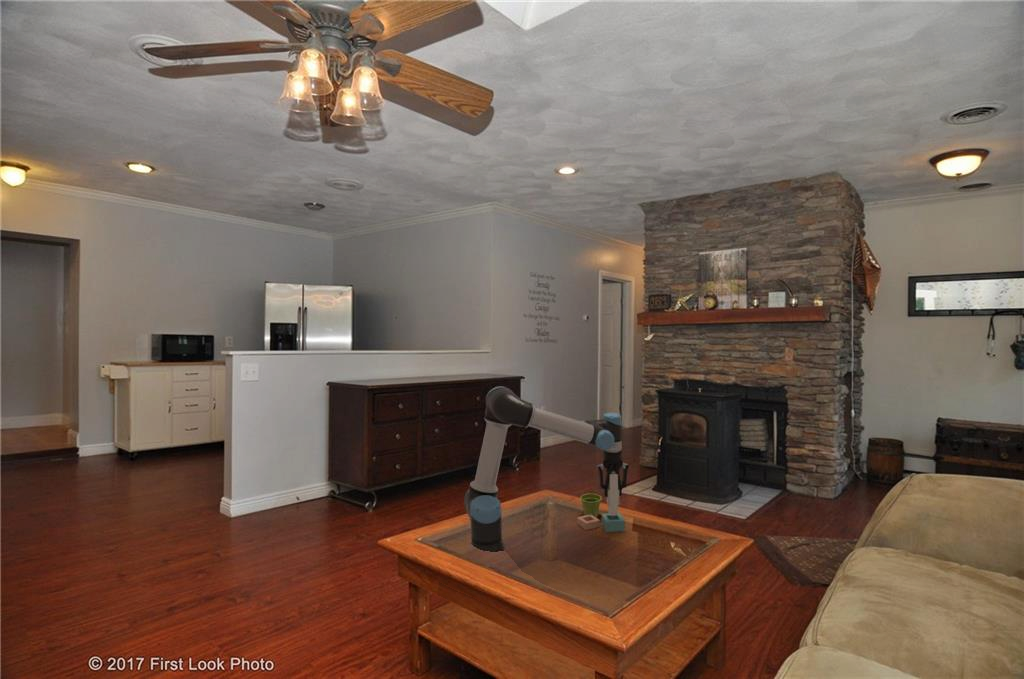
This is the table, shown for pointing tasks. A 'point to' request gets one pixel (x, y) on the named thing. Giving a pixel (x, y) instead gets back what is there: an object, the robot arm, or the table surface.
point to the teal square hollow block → (613, 523)
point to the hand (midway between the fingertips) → (612, 503)
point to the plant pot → (591, 504)
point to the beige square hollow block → (588, 522)
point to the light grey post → (613, 494)
